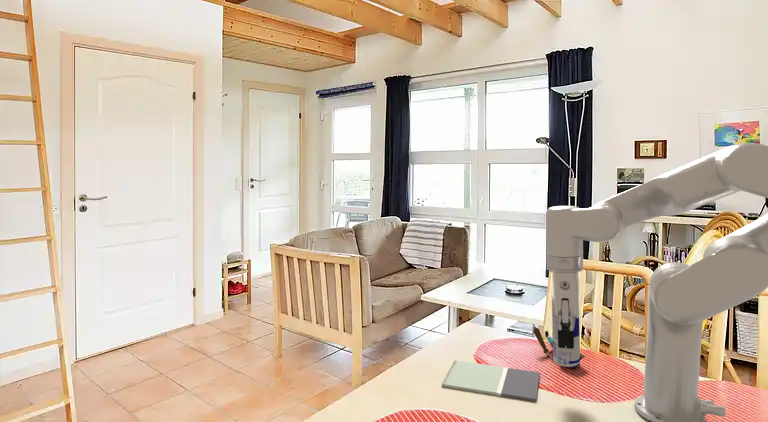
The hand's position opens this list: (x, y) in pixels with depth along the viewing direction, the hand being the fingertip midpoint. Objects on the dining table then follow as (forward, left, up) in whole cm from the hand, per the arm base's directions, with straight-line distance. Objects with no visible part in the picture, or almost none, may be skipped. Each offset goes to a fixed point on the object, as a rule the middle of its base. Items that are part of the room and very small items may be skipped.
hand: (566, 342), depth 109 cm
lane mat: (+16, -1, -12) cm, 20 cm away
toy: (+1, -20, -12) cm, 24 cm away
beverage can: (0, 0, -5) cm, 5 cm away
